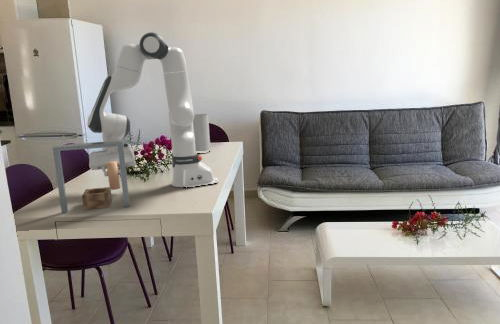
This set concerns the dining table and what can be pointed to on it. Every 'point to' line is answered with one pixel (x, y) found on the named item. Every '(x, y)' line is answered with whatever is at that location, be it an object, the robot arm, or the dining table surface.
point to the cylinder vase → (201, 132)
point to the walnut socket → (97, 198)
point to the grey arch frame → (89, 146)
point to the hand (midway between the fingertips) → (113, 174)
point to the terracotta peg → (113, 175)
